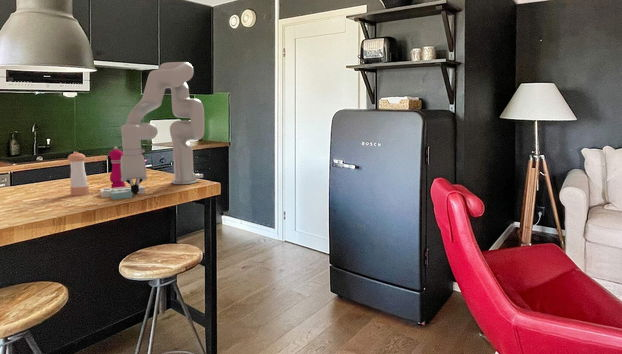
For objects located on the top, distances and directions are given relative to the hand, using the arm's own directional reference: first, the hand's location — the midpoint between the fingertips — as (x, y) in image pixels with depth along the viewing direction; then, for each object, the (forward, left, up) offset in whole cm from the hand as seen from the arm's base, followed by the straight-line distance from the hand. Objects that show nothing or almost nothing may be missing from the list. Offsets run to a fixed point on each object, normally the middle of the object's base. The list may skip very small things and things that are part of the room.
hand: (135, 193), depth 195 cm
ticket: (+4, -7, -1) cm, 9 cm away
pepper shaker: (+21, -17, -1) cm, 27 cm away
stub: (+6, 0, -1) cm, 6 cm away
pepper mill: (+4, -25, -1) cm, 25 cm away
